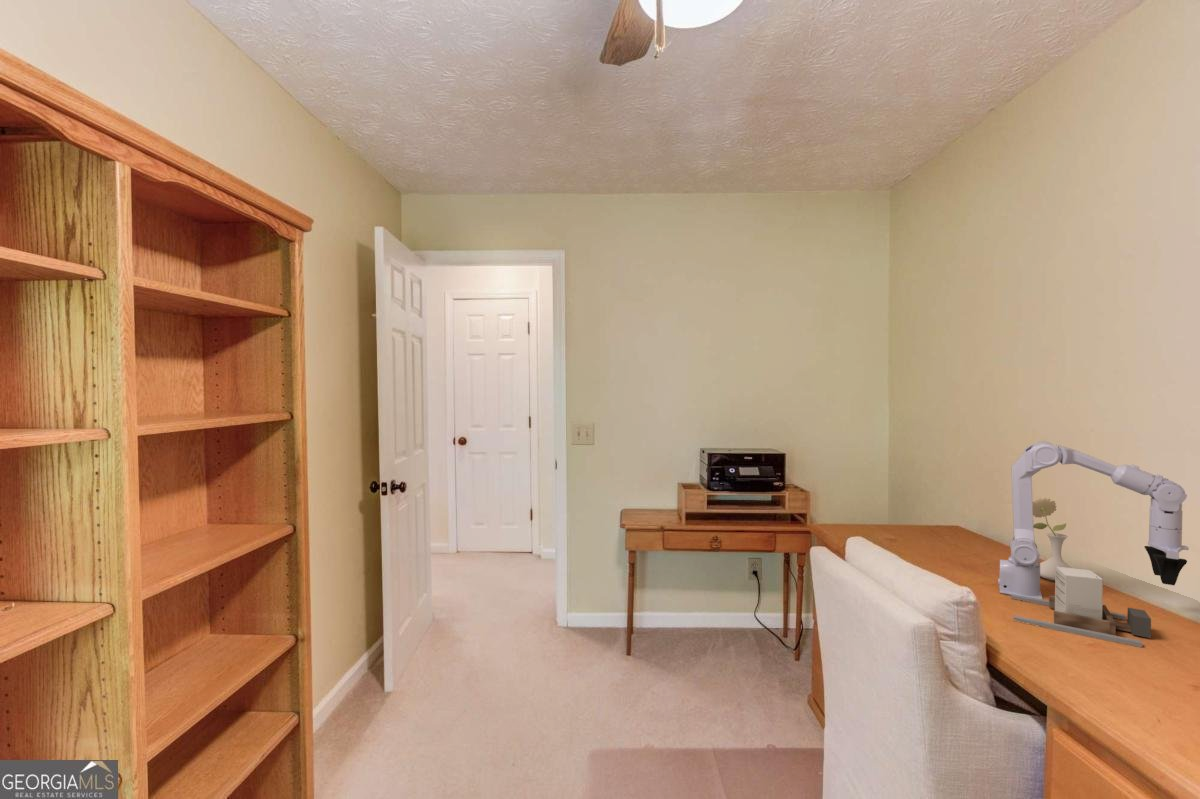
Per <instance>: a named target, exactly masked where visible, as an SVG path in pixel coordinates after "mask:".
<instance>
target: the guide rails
mask: <svg viewBox="0 0 1200 799" xmlns="http://www.w3.org/2000/svg"><path fill="white" fill-rule="evenodd" d="M1011 598H1012V599H1011ZM1010 599H1011V600H1014V599H1017V600H1016V601H1019V600H1022V601H1021V602H1025V601H1027V602H1026V603H1030V602H1032V603H1031V604H1035V603H1037V604H1036V605H1042V606H1047V607H1049V599H1048V600H1047V599H1043V600H1042V599H1037V598H1031V597H1026V596H1020V595H1015V594H1011V595H1010ZM1109 613H1110V614H1111V616H1112V618H1113V619H1116V618H1117V619H1118V620H1121V619H1122V621H1127V617H1126V615H1125V614H1124V613H1118V612H1112V611H1109ZM1014 620H1016V621H1020V622H1024V623H1023V624H1025V623H1029V624H1028V625H1030V624H1034V625H1033V626H1035V625H1038V626H1037V627H1040V626H1042V627H1041V628H1046V629H1049V628H1050V629H1051V630H1054V629H1055V631H1060V632H1064V633H1070V634H1074V635H1079V636H1085V637H1090V638H1095V639H1099V640H1104V641H1108V642H1113V643H1118V644H1121V645H1122V644H1124V645H1127V644H1128V645H1127V646H1133V647H1137V648H1143V642H1142V641H1141V640H1139V639H1134V638H1130V637H1124V636H1119V635H1116V634H1115V635H1110V634H1105V633H1100V632H1095V631H1090V630H1085V629H1080V628H1075V627H1070V626H1065V625H1060V624H1055V623H1054V622H1049V621H1044V620H1041V619H1040V620H1039V619H1033V618H1030V617H1029V618H1028V617H1025V616H1019V615H1014V614H1013V621H1014ZM1020 622H1019V623H1020Z"/></svg>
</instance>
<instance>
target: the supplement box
mask: <svg viewBox="0 0 1200 799" xmlns="http://www.w3.org/2000/svg"><path fill="white" fill-rule="evenodd" d="M1103 583H1104V579H1103V578H1102V577H1100V576H1099V575H1098V574H1096V573H1095V572H1094V571H1092V570H1090V569H1084V568H1083V569H1082V568H1074V567H1072V568H1065V567H1056V566H1055V581H1054V584H1055V585H1054V586H1055V587H1054V596H1055V609H1054V611H1060V612H1065V613H1070V614H1075V615H1081V616H1086V617H1091V618H1096V619H1102V607H1103V605H1104V604H1103V600H1104V599H1103V596H1104V595H1103V594H1104V586H1103V585H1104V584H1103Z"/></svg>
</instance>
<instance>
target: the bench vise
mask: <svg viewBox="0 0 1200 799" xmlns="http://www.w3.org/2000/svg"><path fill="white" fill-rule="evenodd" d="M1048 597H1049V598H1048V601H1049V606H1048V607H1049V608H1050V609H1054V610H1053V623H1055V624H1060V625H1065V626H1070V627H1075V628H1080V629H1085V630H1090V631H1095V632H1100V633H1105V634H1110V635H1115V636H1116V630H1119V631H1124V632H1130V633H1131V634H1132V636H1139V637H1143V638H1149V639H1151V638H1152V637H1151V636H1152V635H1151V634H1152V618H1151V617H1150V615H1149V614H1148V613H1147V612H1146V610H1144V609H1139V608H1133V607H1127V617H1126V621H1127V622H1122V621H1117V620H1114V618H1112V616H1111V614H1110V613H1109V612H1110V611H1109V609H1108V607H1107V605H1106V604H1103V607H1102V619H1096V618H1091V617H1086V616H1081V615H1075V614H1070V613H1065V612H1060V611H1055V595H1049V596H1048Z"/></svg>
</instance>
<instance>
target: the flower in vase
mask: <svg viewBox="0 0 1200 799" xmlns="http://www.w3.org/2000/svg"><path fill="white" fill-rule="evenodd" d="M1032 501H1033V517H1034V518H1042V517H1044V519H1045V522H1046V523H1044V522H1037V523H1033V526H1034V529H1037V530H1044V529H1046V528H1049V530H1051V532H1046V533H1045V534H1046V536H1047V537H1048V538H1049V541H1050V544H1051V545H1050V546H1051V555H1050V557H1049V558H1048V559H1045V560H1044V561H1041V562H1039V563H1040V578H1044V579H1046V580H1050V581H1054V582H1055V566H1056V567H1065V568H1073V567H1072V566H1070V565H1069V564H1068V563H1067V562H1065V561H1064V559H1063V556H1062V548H1063V543H1064V541H1065V540H1066V539H1067V538H1068V535H1066V534H1063V533H1059V532H1060V531H1063V530H1065V529H1066V526H1067V523H1062V524H1057V525H1054V526H1053V528H1052V527H1051V526H1050V524H1049V522H1048V518H1047V517H1048V516H1052V514H1054V512H1056V510H1057V502H1056V501H1055V500H1051V498H1047V497H1044V498H1041V497H1039V498H1037V499H1034V500H1032ZM1058 531H1059V532H1058Z"/></svg>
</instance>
